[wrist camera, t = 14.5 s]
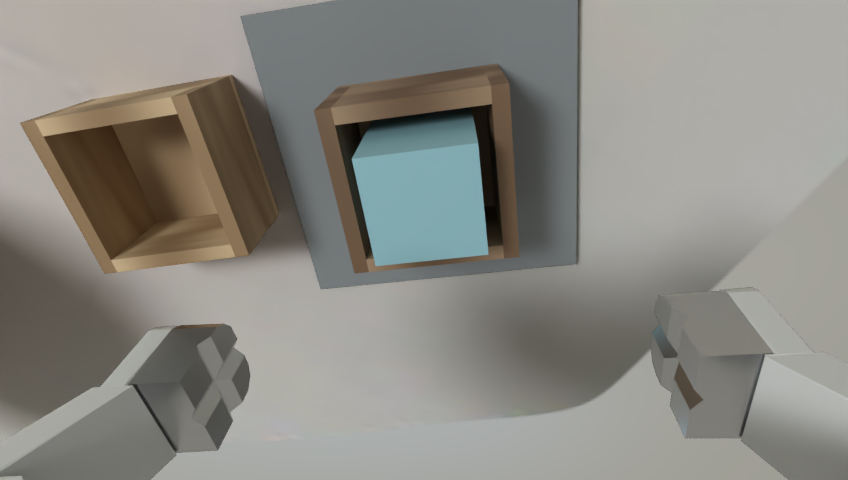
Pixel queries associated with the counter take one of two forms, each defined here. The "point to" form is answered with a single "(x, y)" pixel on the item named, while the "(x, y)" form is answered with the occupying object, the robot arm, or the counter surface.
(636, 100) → the counter surface
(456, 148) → the light blue block
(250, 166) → the light wooden open box
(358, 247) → the brown wooden square tray
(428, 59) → the slate mat
